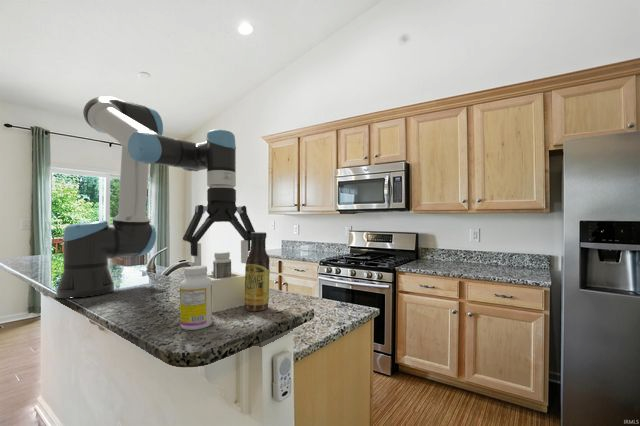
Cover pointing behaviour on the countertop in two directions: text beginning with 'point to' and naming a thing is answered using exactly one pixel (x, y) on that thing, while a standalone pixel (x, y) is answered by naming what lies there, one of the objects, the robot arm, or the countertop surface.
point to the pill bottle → (221, 265)
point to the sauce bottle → (257, 274)
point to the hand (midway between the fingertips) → (222, 265)
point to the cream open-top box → (227, 291)
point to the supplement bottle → (195, 299)
